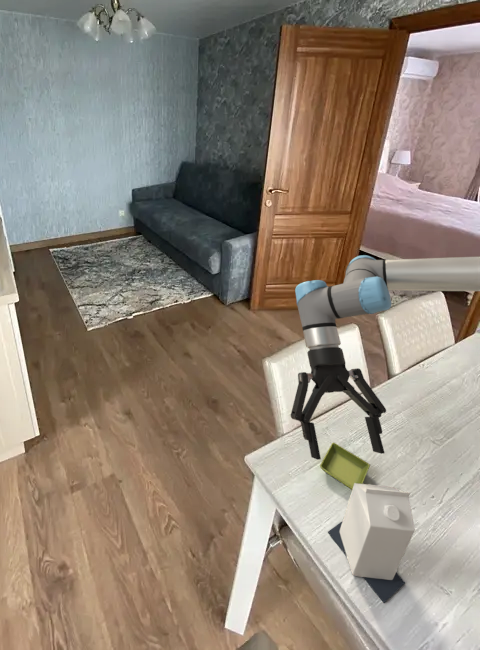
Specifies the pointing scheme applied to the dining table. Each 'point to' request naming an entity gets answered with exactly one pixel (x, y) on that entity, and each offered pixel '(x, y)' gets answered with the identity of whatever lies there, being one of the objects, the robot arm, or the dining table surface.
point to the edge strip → (378, 585)
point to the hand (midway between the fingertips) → (347, 455)
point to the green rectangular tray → (344, 466)
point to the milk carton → (376, 530)
